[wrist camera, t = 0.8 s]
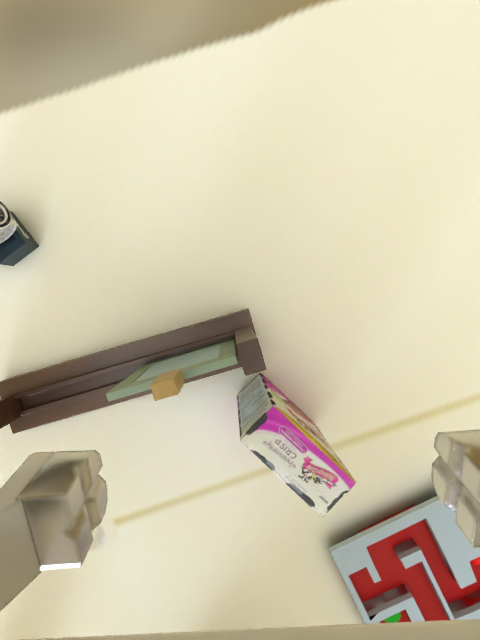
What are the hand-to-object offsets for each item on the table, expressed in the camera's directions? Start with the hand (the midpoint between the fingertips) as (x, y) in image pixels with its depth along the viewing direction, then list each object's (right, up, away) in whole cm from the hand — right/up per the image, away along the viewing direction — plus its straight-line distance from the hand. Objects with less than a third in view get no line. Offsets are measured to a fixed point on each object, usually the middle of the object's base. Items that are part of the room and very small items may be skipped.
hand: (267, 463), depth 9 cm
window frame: (-15, -3, +41) cm, 44 cm away
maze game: (+28, -38, +44) cm, 65 cm away
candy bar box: (+4, -9, +42) cm, 43 cm away
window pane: (-7, -1, +39) cm, 39 cm away
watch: (-30, +14, +40) cm, 52 cm away
